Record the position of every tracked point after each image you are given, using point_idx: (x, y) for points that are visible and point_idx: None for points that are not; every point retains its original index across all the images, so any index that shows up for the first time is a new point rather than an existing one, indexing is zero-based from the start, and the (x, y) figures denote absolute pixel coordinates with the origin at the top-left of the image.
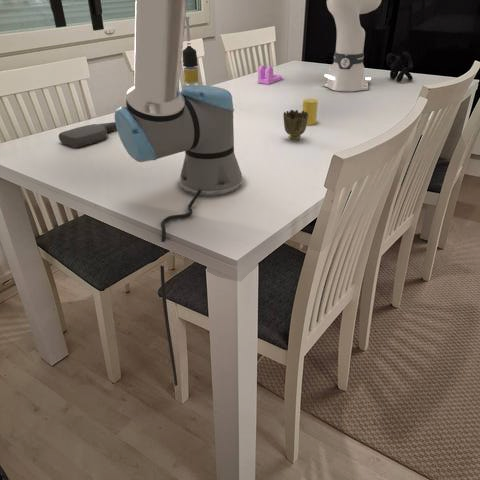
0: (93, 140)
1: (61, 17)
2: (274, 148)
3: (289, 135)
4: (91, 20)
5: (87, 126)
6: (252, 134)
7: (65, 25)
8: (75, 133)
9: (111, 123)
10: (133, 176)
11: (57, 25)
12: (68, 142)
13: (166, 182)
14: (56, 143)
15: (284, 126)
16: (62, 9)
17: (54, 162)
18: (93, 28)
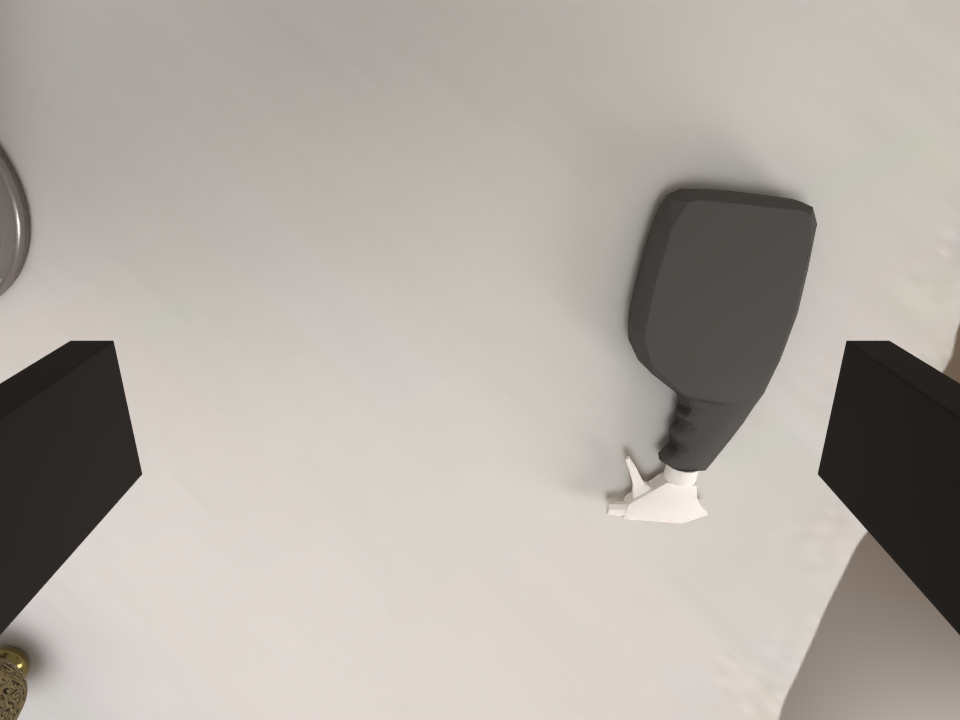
0: (638, 274)
1: (895, 492)
2: None
3: (12, 660)
4: (34, 389)
5: (758, 355)
6: (170, 638)
7: (828, 468)
8: (733, 252)
9: (692, 444)
10: (203, 89)
11: (862, 354)
12: (724, 192)
13: (49, 116)
14: (813, 191)
15: (3, 679)
16: (952, 609)
17: (633, 10)
18: (83, 348)
